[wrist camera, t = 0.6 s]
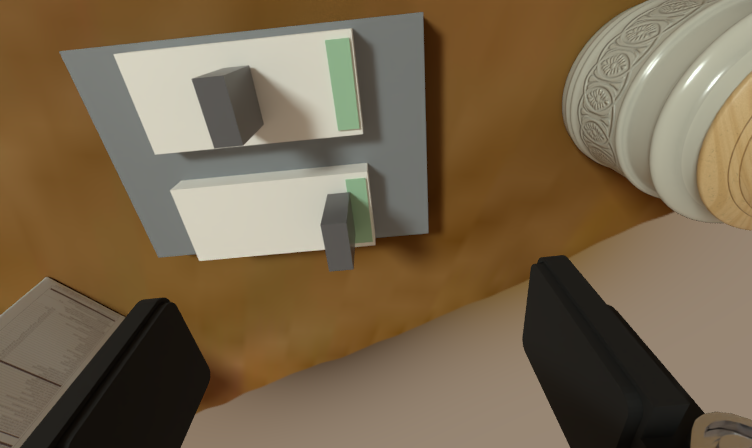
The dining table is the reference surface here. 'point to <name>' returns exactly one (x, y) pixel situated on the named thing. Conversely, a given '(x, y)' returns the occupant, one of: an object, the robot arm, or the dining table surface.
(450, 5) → the dining table surface
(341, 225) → the breaker handle
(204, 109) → the breaker handle
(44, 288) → the supplement box
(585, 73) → the jar
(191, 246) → the breaker panel
